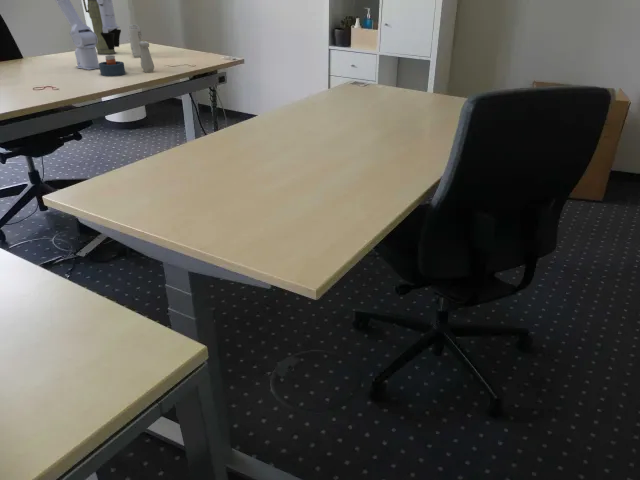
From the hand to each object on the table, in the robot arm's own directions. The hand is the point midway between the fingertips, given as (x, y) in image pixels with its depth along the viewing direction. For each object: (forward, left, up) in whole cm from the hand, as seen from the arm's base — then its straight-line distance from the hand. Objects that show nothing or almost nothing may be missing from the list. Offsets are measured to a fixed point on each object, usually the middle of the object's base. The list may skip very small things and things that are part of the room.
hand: (114, 48), depth 243 cm
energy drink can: (-22, +31, -10) cm, 40 cm away
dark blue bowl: (+4, -6, -10) cm, 12 cm away
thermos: (-42, +27, -10) cm, 51 cm away
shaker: (+4, -6, -9) cm, 12 cm away
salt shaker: (+12, +7, -10) cm, 17 cm away
